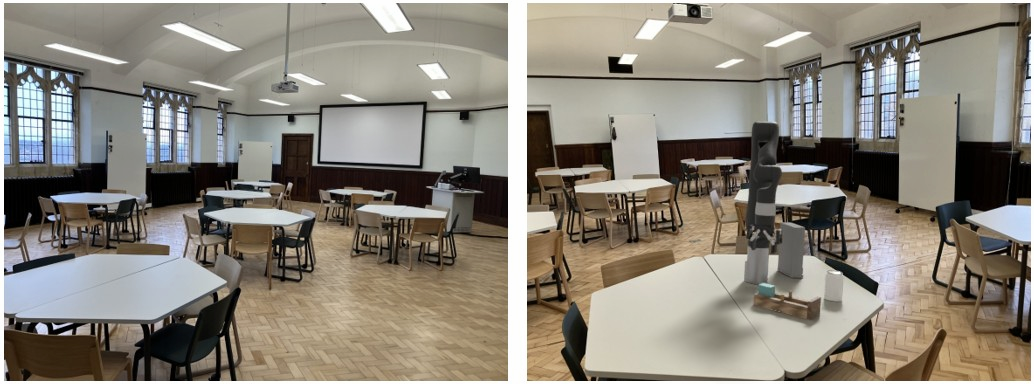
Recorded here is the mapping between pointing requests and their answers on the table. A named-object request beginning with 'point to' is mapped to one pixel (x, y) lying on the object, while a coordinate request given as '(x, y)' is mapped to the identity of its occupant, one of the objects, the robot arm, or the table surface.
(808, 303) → the wooden tray
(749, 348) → the table surface
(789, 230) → the tall upright block
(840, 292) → the can
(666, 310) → the table surface
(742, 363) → the table surface
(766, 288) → the rider
